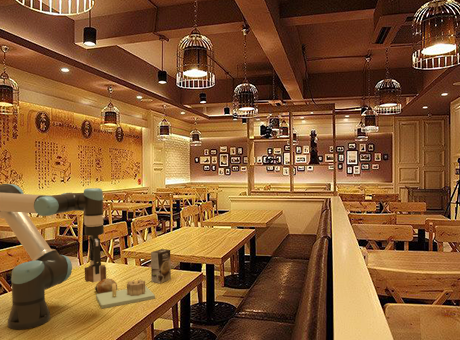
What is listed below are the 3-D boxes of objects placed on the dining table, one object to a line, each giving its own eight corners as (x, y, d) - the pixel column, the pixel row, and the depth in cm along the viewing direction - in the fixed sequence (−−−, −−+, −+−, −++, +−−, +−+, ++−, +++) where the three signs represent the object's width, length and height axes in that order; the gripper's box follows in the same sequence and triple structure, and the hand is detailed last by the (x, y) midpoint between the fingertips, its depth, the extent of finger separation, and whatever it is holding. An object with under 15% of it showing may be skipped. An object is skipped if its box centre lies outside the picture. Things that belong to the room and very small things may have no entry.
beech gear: (134, 297, 174) (134, 286, 174) (123, 293, 180) (123, 283, 179) (148, 292, 181) (148, 281, 181) (138, 288, 186) (137, 278, 186)
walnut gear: (86, 283, 153) (86, 271, 153) (84, 278, 161) (83, 266, 161) (107, 280, 157) (107, 268, 157) (104, 274, 165) (103, 263, 164)
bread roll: (106, 302, 183) (113, 287, 182) (89, 292, 184) (95, 278, 184) (117, 295, 192) (122, 281, 192) (100, 285, 194) (106, 272, 193)
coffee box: (160, 283, 198) (159, 253, 198) (151, 281, 201) (150, 251, 201) (171, 279, 206) (170, 249, 205) (162, 277, 209) (161, 248, 209)
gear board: (101, 308, 165) (101, 291, 165) (96, 297, 179) (95, 281, 179) (155, 298, 176) (154, 282, 176) (145, 288, 190) (145, 273, 190)
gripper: (107, 227, 151) (109, 284, 151) (99, 220, 170) (100, 270, 170) (88, 229, 147) (89, 287, 148) (81, 222, 166) (83, 273, 167)
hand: (95, 278), depth 159 cm, fingers closed on walnut gear, 8 cm apart
